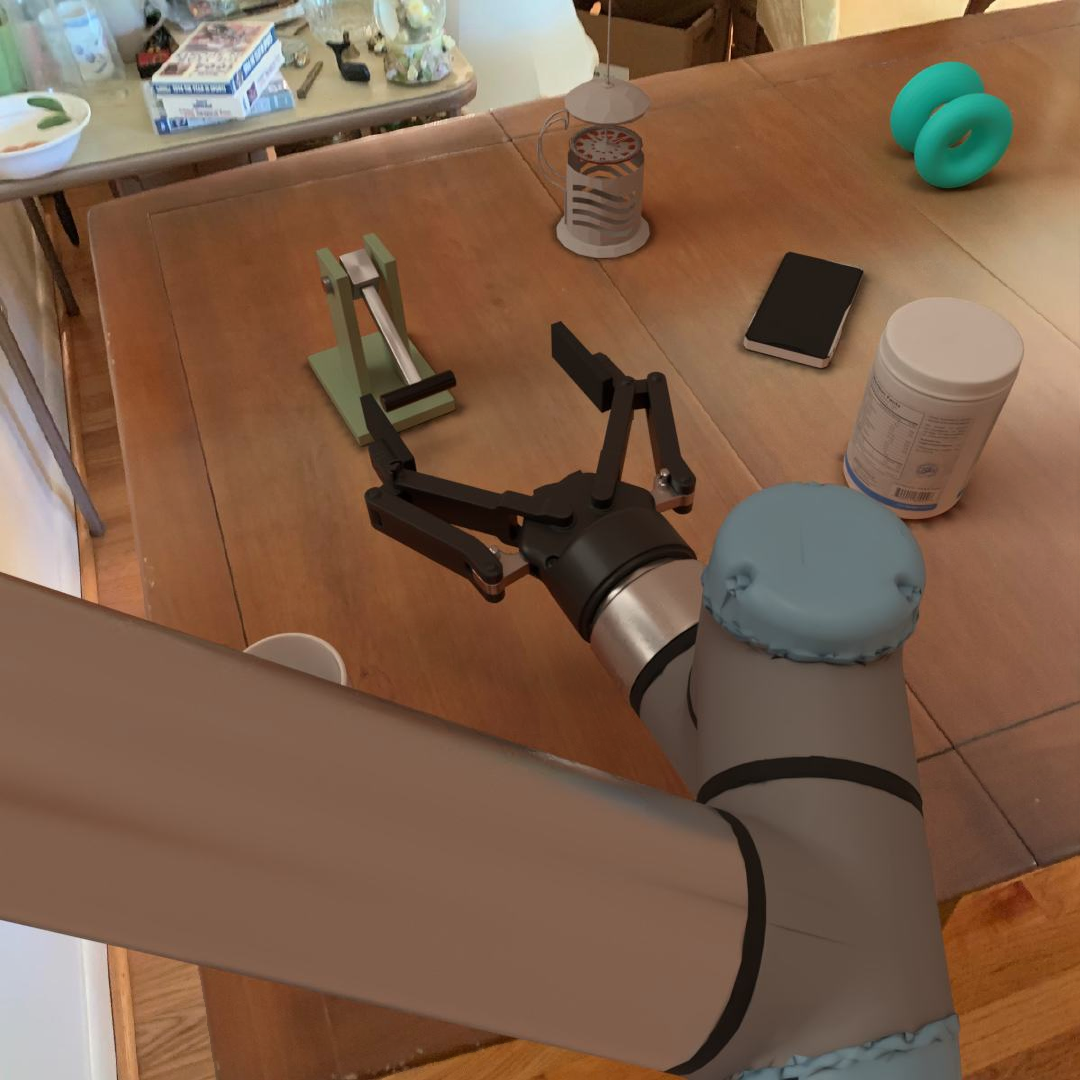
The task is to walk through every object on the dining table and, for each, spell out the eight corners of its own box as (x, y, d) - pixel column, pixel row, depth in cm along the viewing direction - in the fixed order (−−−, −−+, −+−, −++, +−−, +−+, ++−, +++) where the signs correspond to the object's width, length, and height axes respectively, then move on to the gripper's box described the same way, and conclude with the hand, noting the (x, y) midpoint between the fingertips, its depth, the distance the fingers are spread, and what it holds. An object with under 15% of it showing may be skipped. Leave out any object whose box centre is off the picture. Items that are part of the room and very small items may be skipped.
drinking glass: (384, 749, 64) (345, 621, 53) (392, 847, 60) (351, 731, 49) (281, 766, 64) (218, 640, 52) (282, 866, 60) (213, 754, 48)
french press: (645, 262, 98) (664, -2, 79) (531, 252, 99) (522, -9, 80) (654, 207, 104) (674, -50, 85) (547, 199, 106) (542, -56, 86)
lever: (455, 392, 78) (458, 378, 75) (386, 418, 76) (387, 405, 74) (385, 256, 80) (386, 240, 78) (317, 279, 78) (316, 263, 76)
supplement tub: (901, 422, 83) (954, 277, 71) (987, 492, 78) (1060, 347, 66) (814, 468, 80) (855, 323, 68) (899, 543, 74) (958, 401, 63)
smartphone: (866, 268, 95) (829, 360, 86) (863, 279, 96) (826, 371, 87) (785, 250, 97) (741, 338, 88) (783, 260, 98) (739, 348, 89)
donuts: (960, 141, 111) (990, 52, 104) (998, 188, 105) (1032, 98, 97) (876, 149, 111) (899, 60, 103) (909, 197, 104) (936, 106, 97)
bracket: (456, 409, 85) (440, 276, 74) (360, 447, 82) (329, 314, 72) (399, 333, 92) (378, 202, 81) (310, 366, 89) (274, 234, 78)
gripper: (439, 745, 51) (296, 485, 62) (817, 553, 58) (625, 353, 70) (421, 668, 45) (268, 398, 57) (845, 466, 52) (630, 264, 64)
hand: (465, 373), depth 63 cm, fingers open, 13 cm apart
